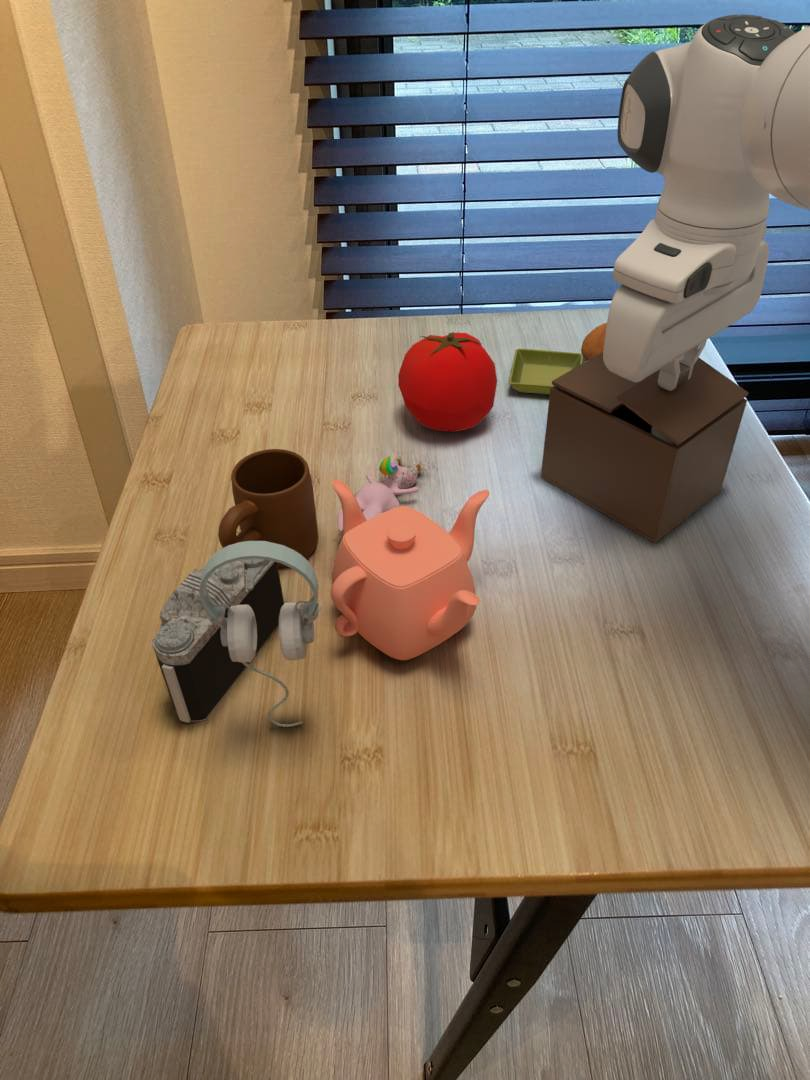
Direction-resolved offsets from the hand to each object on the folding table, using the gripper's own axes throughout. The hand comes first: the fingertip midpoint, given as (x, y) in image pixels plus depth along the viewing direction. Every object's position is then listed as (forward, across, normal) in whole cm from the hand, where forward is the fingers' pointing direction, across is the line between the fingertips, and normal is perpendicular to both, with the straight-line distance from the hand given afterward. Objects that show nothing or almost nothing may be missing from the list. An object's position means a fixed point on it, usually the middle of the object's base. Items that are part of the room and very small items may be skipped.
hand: (673, 383), depth 81 cm
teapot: (+14, +30, -5) cm, 33 cm away
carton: (+14, 0, -2) cm, 14 cm away
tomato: (+14, +5, -25) cm, 29 cm away
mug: (+14, +35, -20) cm, 43 cm away
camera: (+14, +46, -13) cm, 50 cm away
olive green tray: (+14, -10, -22) cm, 28 cm away
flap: (+1, 0, +1) cm, 2 cm away
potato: (+14, -20, -17) cm, 30 cm away
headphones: (+14, +46, -3) cm, 48 cm away
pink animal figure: (+14, +22, -18) cm, 32 cm away
